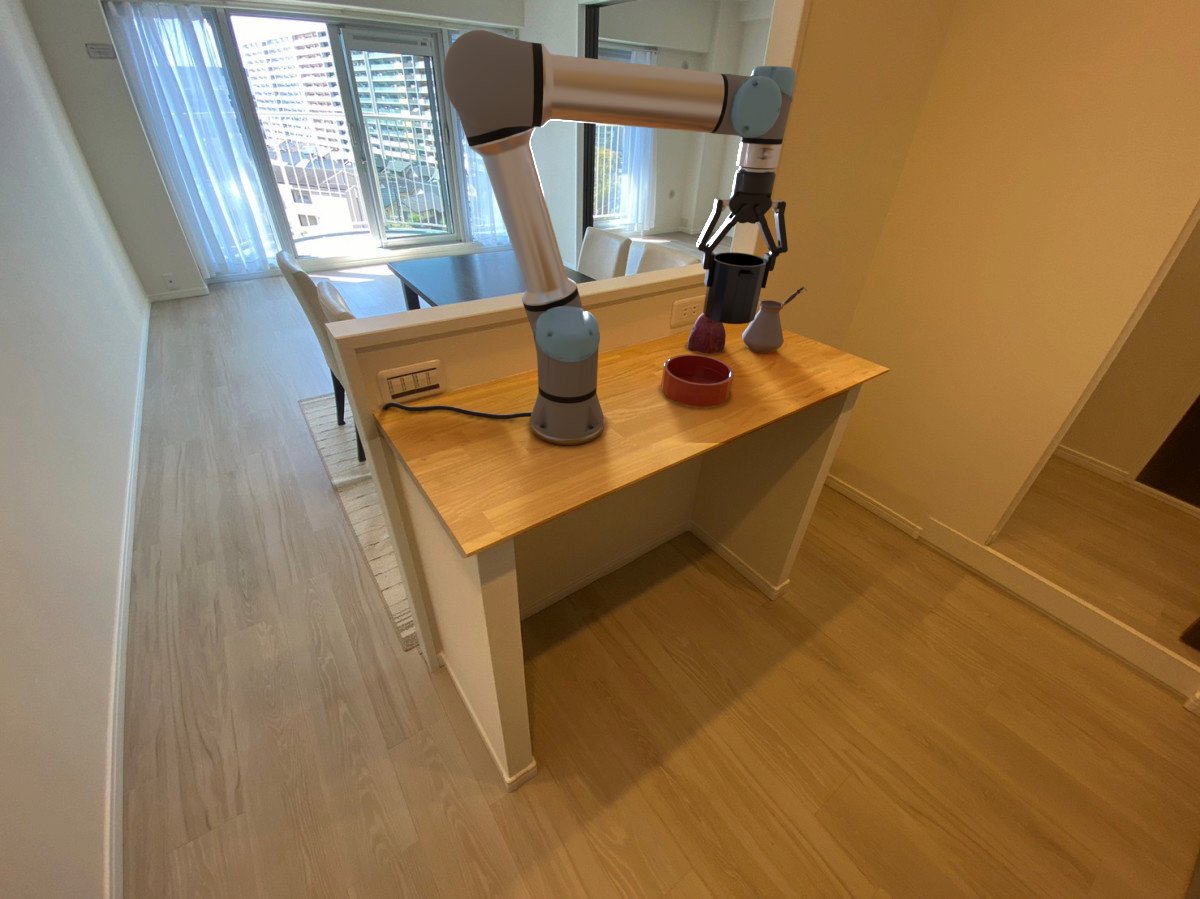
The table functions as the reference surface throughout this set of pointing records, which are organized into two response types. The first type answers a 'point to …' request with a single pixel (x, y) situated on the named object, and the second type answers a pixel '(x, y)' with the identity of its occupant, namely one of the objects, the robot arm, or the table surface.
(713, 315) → the black cylindrical cup
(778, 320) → the coffee pot
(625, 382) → the table surface
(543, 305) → the robot arm
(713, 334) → the vegetable
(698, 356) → the casserole
